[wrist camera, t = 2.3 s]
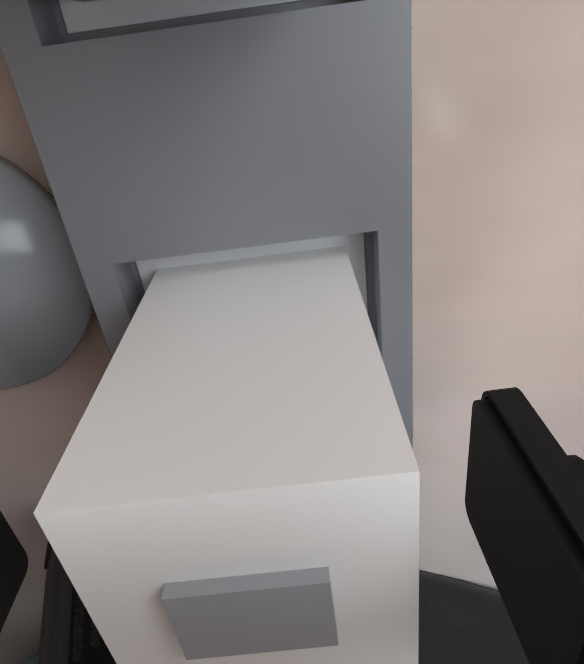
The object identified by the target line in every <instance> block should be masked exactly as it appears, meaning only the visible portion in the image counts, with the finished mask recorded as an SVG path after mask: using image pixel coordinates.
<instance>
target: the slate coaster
mask: <svg viewBox="0 0 584 664" xmlns="http://www.w3.org/2000/svg"><path fill="white" fill-rule="evenodd" d="M92 311H93V304H92V301H91V299H90V296H89V293H88V290H87V287H86V285H85V282H84V279H83V276H82V274H81V271H80V268H79V265H78V262H77V260H76V257H75V254H74V251H73V248H72V246H71V243H70V240H69V237H68V235H67V232H66V229H65V226H64V223H63V221H62V218H61V215H60V212H59V210H58V207H57V204H56V201H55V199H54V198H53V197H52V196H51V195H50V194H49V193H48V191H47V190H46V189H44V188H43V187H42V186H41V185H40V184H39V183H38V182H37V181H36V180H34V179H33V178H32V177H31V176H30V175H29V174H27V173H26V172H24V171H23V170H22V169H20V168H19V167H18V166H16V165H15V164H13V163H12V162H10V161H8V160H7V159H5V158H3V157H2V156H0V389H4V388H10V387H15V386H20V385H23V384H26V383H30V382H33V381H35V380H37V379H39V378H41V377H43V376H45V375H47V374H48V373H50V372H52V371H53V370H55V369H56V368H57V367H58V366H60V365H61V364H62V363H63V362H64V361H65V360H66V359H67V358H68V357H69V355H70V354H71V353H72V352H73V350H74V349H75V348H76V346H77V345H78V343H79V341H80V340H81V338H82V336H83V335H84V333H85V331H86V329H87V327H88V324H89V321H90V319H91V316H92Z"/></svg>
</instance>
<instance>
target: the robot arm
mask: <svg viewBox="0 0 584 664" xmlns="http://www.w3.org/2000/svg"><path fill="white" fill-rule="evenodd" d="M465 506H466V511H467V515H468V518H469V521H470V524H471V526H472V528H473V531H474V533H475V535H476V538H477V540H478V543H479V545H480V547H481V550H482V552H483V555H484V557H485V559H486V562H487V564H488V566H489V569H490V571H491V574H492V576H493V578H494V581H495V583H496V586H497V588H498V590H499V593H500V595H501V597H502V600H503V602H504V605H505V607H506V609H507V612H508V614H509V617H510V619H511V621H512V624H513V626H514V628H515V631H516V633H517V636H518V638H519V640H520V643H521V645H522V648H523V650H524V652H525V655H526V657H527V659H528V662H529V664H584V460H583V459H582V458H580V457H578V456H576V455H568V456H567V455H566V453H565V452H564V450H563V449H562V448H561V446H560V445H559V443H558V442H557V441H556V439H555V438H554V436H553V435H552V434H551V432H550V431H549V429H548V428H547V427H546V425H545V424H544V422H543V421H542V420H541V418H540V417H539V415H538V414H537V413H536V411H535V410H534V408H533V407H532V406H531V404H530V403H529V401H528V400H527V399H526V397H525V396H524V394H523V393H522V392H521V391H520V390H519V389H518V388H516V387H514V388H506V389H498V390H490V391H485V392H483V394H482V398H481V400H475V401H474V402H473V406H472V417H471V430H470V443H469V456H468V468H467V481H466V494H465ZM27 567H28V557H27V554H26V552H25V550H24V549H23V547H22V545H21V544H20V542H19V540H18V539H17V537H16V536H15V534H14V532H13V531H12V529H11V527H10V526H9V524H8V523H7V521H6V519H5V518H4V516H3V514H2V513H1V511H0V632H1V630H2V627H3V625H4V623H5V620H6V618H7V616H8V614H9V611H10V609H11V607H12V604H13V602H14V600H15V598H16V595H17V593H18V591H19V588H20V586H21V584H22V582H23V579H24V577H25V575H26V572H27Z"/></svg>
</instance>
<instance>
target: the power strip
mask: <svg viewBox="0 0 584 664" xmlns="http://www.w3.org/2000/svg"><path fill="white" fill-rule="evenodd" d="M0 48H1V51H2V54H3V56H4V59H5V62H6V65H7V67H8V70H9V73H10V76H11V79H12V81H13V84H14V87H15V90H16V93H17V95H18V98H19V101H20V104H21V106H22V109H23V112H24V115H25V118H26V120H27V123H28V126H29V129H30V132H31V134H32V137H33V140H34V143H35V145H36V148H37V151H38V154H39V157H40V159H41V162H42V165H43V168H44V171H45V173H46V176H47V179H48V182H49V184H50V187H51V190H52V193H53V196H54V198H55V201H56V204H57V207H58V210H59V212H60V215H61V218H62V221H63V223H64V226H65V229H66V232H67V235H68V237H69V240H70V243H71V246H72V248H73V251H74V254H75V257H76V260H77V262H78V265H79V268H80V271H81V274H82V276H83V279H84V282H85V285H86V287H87V290H88V293H89V296H90V299H91V301H92V304H93V307H94V310H95V313H96V315H97V318H98V321H99V324H100V326H101V329H102V332H103V335H104V338H105V340H106V343H107V346H108V349H109V352H110V354H111V357H113V355H114V354H115V352H116V350H117V348H118V346H119V344H120V342H121V340H122V338H123V336H124V334H125V332H126V330H127V328H128V326H129V324H130V322H131V320H132V318H133V316H134V314H135V312H136V310H137V308H138V306H139V304H140V302H141V300H142V298H143V296H144V294H145V292H146V291H147V289H148V287H149V285H150V283H151V281H152V279H153V277H154V275H155V273H156V271H157V269H163V268H171V267H179V266H187V265H195V264H203V263H211V262H219V261H227V260H235V259H243V258H251V257H259V256H267V255H275V254H283V253H291V252H299V251H307V250H315V249H323V248H331V247H339V246H345V248H346V251H347V254H348V257H349V260H350V263H351V266H352V269H353V272H354V275H355V278H356V281H357V284H358V287H359V290H360V293H361V296H362V299H363V302H364V305H365V308H366V311H367V314H368V317H369V320H370V323H371V326H372V329H373V332H374V335H375V338H376V341H377V344H378V347H379V350H380V353H381V356H382V359H383V362H384V365H385V368H386V371H387V374H388V377H389V380H390V383H391V386H392V389H393V392H394V395H395V399H396V402H397V405H398V408H399V411H400V414H401V417H402V420H403V423H404V426H405V429H406V432H407V435H408V438H409V441H410V444H411V447H412V450H413V429H412V88H411V0H95V1H88V2H80V1H74V0H0Z"/></svg>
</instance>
